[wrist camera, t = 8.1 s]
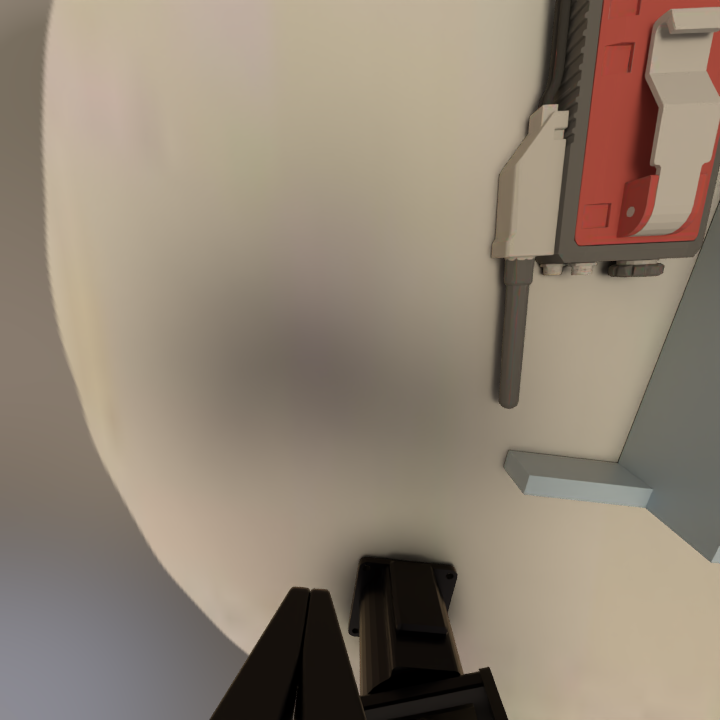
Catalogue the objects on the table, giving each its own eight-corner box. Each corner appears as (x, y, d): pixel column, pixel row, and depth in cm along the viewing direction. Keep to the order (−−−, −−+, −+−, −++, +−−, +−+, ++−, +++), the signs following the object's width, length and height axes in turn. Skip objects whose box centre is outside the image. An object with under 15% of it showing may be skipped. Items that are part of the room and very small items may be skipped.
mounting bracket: (629, 482, 21) (762, 585, 14) (503, 467, 20) (577, 566, 14) (853, -67, 14) (1335, -390, 7) (667, -105, 13) (987, -487, 7)
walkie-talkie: (503, -37, 14) (479, 399, 20) (567, -168, 10) (513, 436, 15) (709, -47, 14) (627, 392, 20) (861, -181, 10) (703, 427, 15)
